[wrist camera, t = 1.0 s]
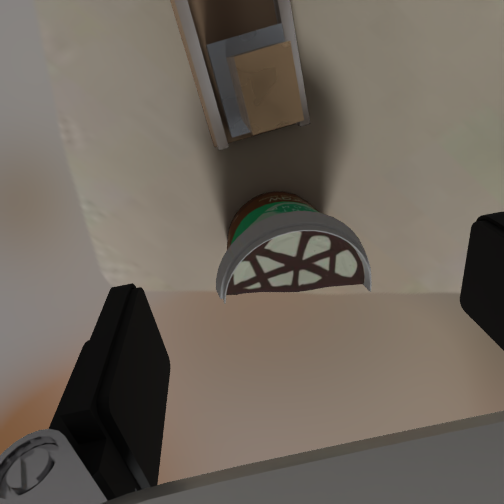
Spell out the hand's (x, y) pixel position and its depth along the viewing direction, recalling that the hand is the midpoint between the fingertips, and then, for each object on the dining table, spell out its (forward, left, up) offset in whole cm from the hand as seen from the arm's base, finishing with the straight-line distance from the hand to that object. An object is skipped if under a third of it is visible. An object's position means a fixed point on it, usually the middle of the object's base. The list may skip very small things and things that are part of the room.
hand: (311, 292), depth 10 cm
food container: (-2, +8, -24) cm, 25 cm away
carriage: (-2, -4, -22) cm, 22 cm away
